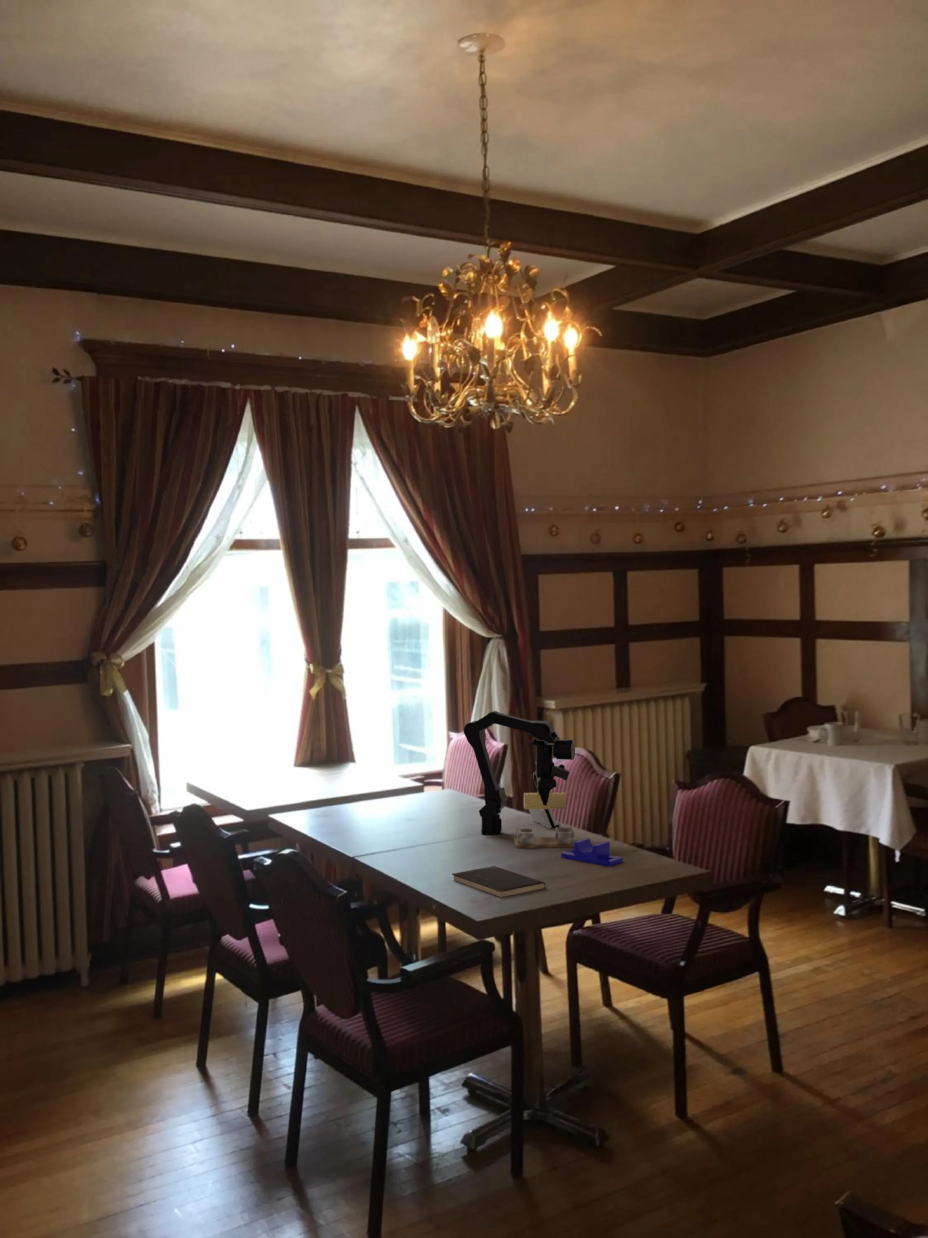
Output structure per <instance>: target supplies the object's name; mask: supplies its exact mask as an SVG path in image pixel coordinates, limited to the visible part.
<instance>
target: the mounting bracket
mask: <svg viewBox="0 0 928 1238" xmlns="http://www.w3.org/2000/svg"><path fill="white" fill-rule="evenodd" d="M575 841H576V840H575ZM560 857H561V858H562V859H567V860H572V861H577V862H578V861H579V862H582V863H583V862H585V863H589V864H595V865H599V866H605V867H612V866H616V865H618V864H621V863H623V862H624V860H623V857H622V856H616V855H610V841H603V842H600V843H596V844H594V845H593V844H592V842H591V838H590V837H589V838H588V837H586V838H583V839H579V840H577V841H576V842H574V847H573V849H570V850H566V851H564V852H562V853H561V852H560Z"/></svg>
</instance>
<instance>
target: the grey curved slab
mask: <svg viewBox="0 0 928 1238" xmlns="http://www.w3.org/2000/svg"><path fill="white" fill-rule="evenodd" d="M528 812H529V814H530V818H531V820H532V819H533V820H532V821H533V822H535V821H537V822H538V823H537V822H536V823H537V824H539V823H540V824H539V825H541V824H542V825H541V826H543V825H544V826H543V827H545V826H546V827H545V828H547V827H548V828H547V829H552V827H553V826H554V827H558V826H559V827H562V826H561V823H560V822H559V821H558V820H557V819H556V817H555V815H554V812H553V809H528ZM556 825H557V826H556Z"/></svg>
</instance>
